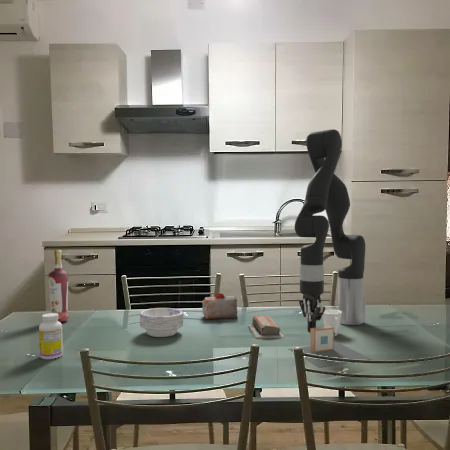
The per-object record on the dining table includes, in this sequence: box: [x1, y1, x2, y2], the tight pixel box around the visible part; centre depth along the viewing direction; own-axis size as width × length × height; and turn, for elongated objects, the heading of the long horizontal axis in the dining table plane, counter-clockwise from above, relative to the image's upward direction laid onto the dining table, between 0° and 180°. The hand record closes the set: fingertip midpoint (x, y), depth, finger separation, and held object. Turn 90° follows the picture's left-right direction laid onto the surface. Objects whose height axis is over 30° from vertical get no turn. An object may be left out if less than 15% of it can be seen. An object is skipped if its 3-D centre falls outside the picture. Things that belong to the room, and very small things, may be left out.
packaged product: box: [247, 314, 286, 340], centre depth 175 cm, size 18×5×10 cm
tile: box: [310, 326, 335, 352], centre depth 152 cm, size 7×2×7 cm, turn 111°
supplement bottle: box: [38, 312, 64, 360], centre depth 150 cm, size 7×7×13 cm
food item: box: [201, 292, 238, 320], centre depth 197 cm, size 14×8×10 cm, turn 98°
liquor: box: [48, 249, 70, 324], centre depth 192 cm, size 7×7×28 cm
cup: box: [322, 308, 342, 337], centre depth 170 cm, size 7×10×8 cm
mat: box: [288, 342, 374, 369], centre depth 149 cm, size 18×18×1 cm
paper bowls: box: [139, 307, 184, 338], centre depth 174 cm, size 15×15×8 cm
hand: (311, 332), depth 158 cm, fingers closed
